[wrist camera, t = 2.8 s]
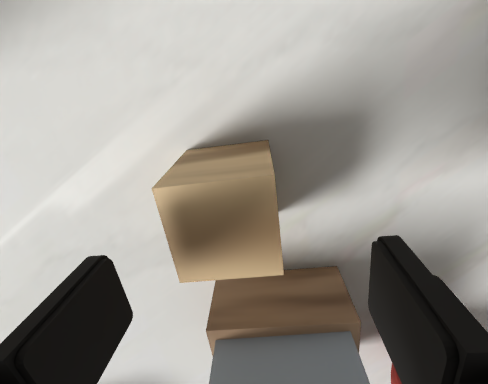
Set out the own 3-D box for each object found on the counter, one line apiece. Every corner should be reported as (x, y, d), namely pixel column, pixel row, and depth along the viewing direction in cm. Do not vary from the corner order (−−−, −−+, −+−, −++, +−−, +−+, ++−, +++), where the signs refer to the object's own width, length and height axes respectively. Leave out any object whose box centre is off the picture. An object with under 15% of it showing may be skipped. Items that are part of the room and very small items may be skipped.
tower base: (217, 273, 20) (206, 330, 16) (336, 264, 19) (361, 322, 15) (233, 350, 24) (228, 415, 19) (334, 345, 23) (354, 412, 18)
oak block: (187, 149, 16) (151, 188, 11) (268, 140, 16) (274, 174, 10) (202, 220, 18) (179, 282, 13) (275, 213, 18) (283, 275, 12)
